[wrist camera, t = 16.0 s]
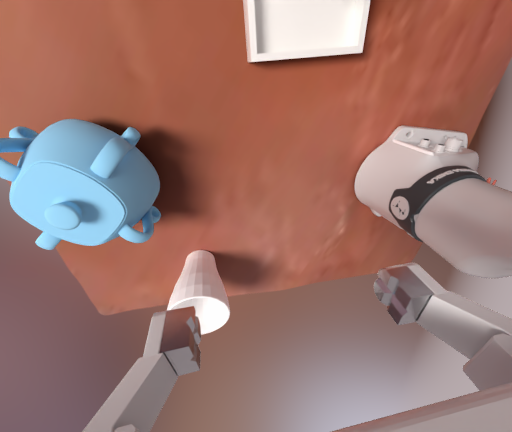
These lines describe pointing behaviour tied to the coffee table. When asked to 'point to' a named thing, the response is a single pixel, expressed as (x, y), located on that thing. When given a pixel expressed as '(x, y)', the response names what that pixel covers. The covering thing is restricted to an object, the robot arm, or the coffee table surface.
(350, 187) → the coffee table surface
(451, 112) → the coffee table surface
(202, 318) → the cup
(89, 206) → the decorative pot
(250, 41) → the tray
